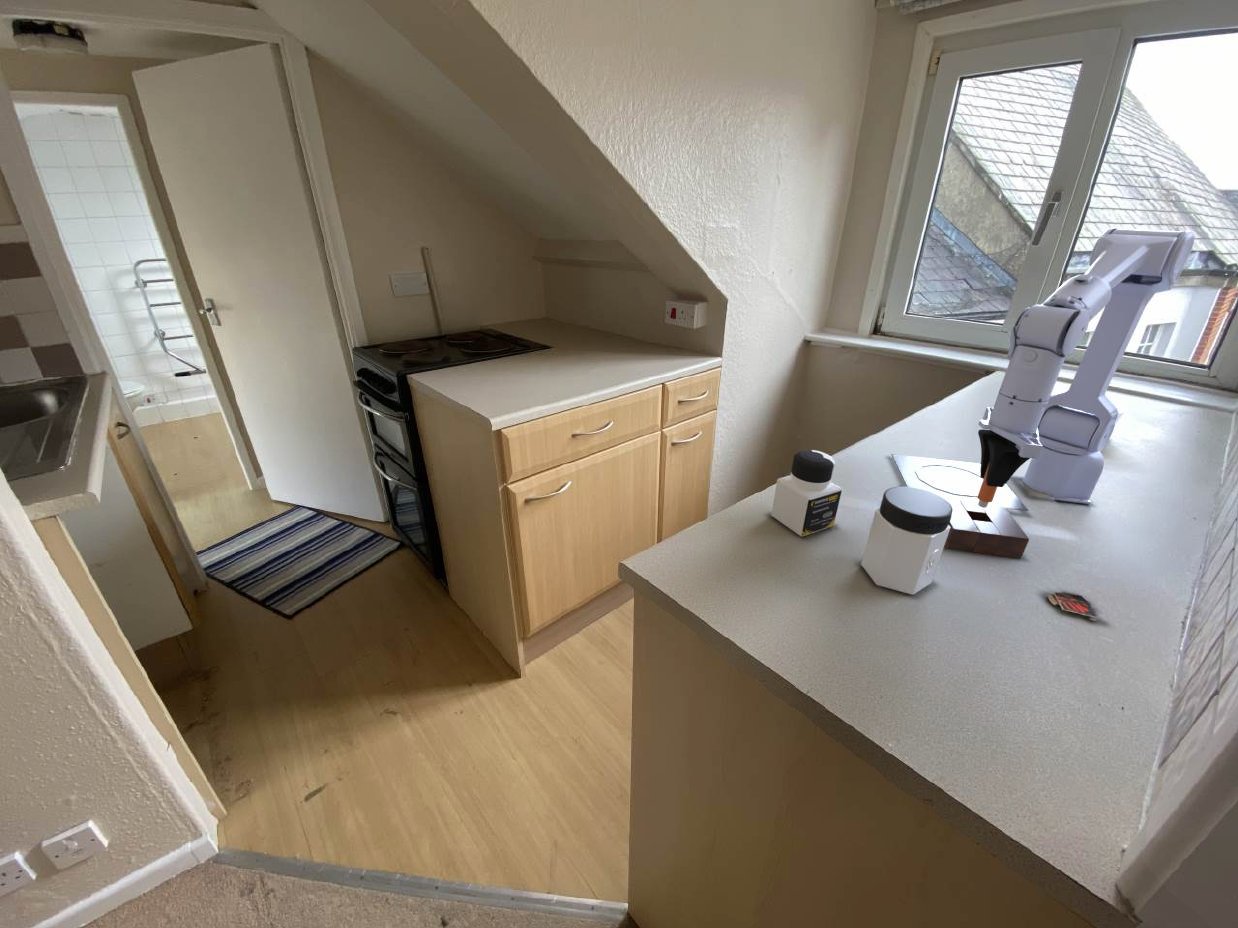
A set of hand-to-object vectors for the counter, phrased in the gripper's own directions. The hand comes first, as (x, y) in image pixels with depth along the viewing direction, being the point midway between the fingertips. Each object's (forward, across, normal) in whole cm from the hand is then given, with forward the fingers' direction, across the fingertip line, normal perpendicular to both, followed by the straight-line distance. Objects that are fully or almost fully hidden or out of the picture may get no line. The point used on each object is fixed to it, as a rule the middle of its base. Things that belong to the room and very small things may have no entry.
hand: (991, 481), depth 79 cm
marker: (+4, 0, 0) cm, 4 cm away
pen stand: (+10, 0, 0) cm, 10 cm away
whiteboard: (+10, -18, +2) cm, 20 cm away
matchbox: (+10, +15, +7) cm, 19 cm away
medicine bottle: (+10, +3, -26) cm, 28 cm away
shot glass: (+10, -52, +40) cm, 66 cm away
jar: (+10, +14, -14) cm, 22 cm away
